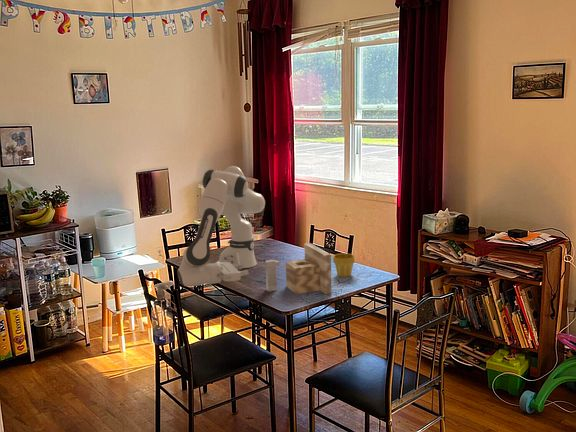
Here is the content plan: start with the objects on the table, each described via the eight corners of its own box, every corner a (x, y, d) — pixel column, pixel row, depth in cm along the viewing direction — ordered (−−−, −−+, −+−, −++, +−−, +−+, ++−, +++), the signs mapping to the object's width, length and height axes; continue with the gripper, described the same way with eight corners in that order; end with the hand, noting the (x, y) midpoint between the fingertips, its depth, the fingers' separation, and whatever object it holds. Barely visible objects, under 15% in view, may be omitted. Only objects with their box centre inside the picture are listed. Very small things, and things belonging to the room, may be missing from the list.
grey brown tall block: (268, 291, 264) (267, 262, 261) (266, 289, 267) (265, 260, 264) (280, 289, 266) (279, 260, 263) (278, 288, 269) (277, 259, 266)
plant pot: (336, 278, 280) (336, 259, 278) (331, 272, 290) (331, 254, 288) (357, 277, 281) (356, 257, 279) (351, 271, 291) (351, 252, 289)
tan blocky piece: (300, 298, 254) (299, 258, 250) (282, 283, 276) (280, 246, 273) (331, 293, 259) (330, 254, 256) (311, 278, 281) (310, 243, 278)
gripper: (220, 272, 245) (251, 268, 249) (209, 261, 264) (238, 257, 268) (221, 286, 246) (252, 282, 251) (210, 274, 265) (239, 270, 269)
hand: (245, 269), depth 260 cm, fingers open, 8 cm apart
